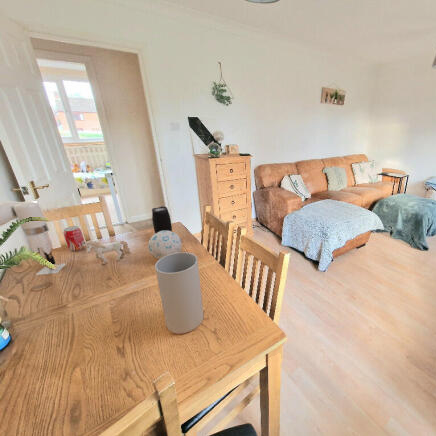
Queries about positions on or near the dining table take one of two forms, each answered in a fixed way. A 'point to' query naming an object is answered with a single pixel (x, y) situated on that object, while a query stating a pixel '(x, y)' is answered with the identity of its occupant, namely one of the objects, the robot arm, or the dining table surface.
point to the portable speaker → (161, 219)
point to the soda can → (74, 238)
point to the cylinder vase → (180, 291)
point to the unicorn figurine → (106, 249)
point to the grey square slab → (50, 270)
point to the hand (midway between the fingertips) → (50, 264)
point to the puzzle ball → (164, 244)
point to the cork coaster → (41, 286)
